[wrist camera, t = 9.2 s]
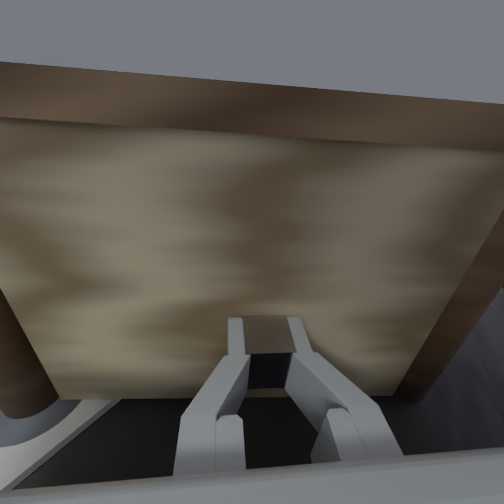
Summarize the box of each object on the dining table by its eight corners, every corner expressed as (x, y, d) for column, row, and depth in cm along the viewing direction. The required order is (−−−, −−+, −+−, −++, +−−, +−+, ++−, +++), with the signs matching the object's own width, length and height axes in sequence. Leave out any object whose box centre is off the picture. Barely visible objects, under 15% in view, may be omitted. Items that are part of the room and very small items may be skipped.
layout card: (-32, 525, 8) (-39, 520, 8) (-111, 273, 19) (-114, 267, 18) (288, 262, 24) (288, 257, 24) (147, 204, 34) (147, 200, 34)
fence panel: (55, 409, 11) (-160, 40, 5) (80, 366, 12) (-52, 57, 6) (433, 403, 12) (653, 110, 6) (408, 366, 14) (560, 109, 8)
